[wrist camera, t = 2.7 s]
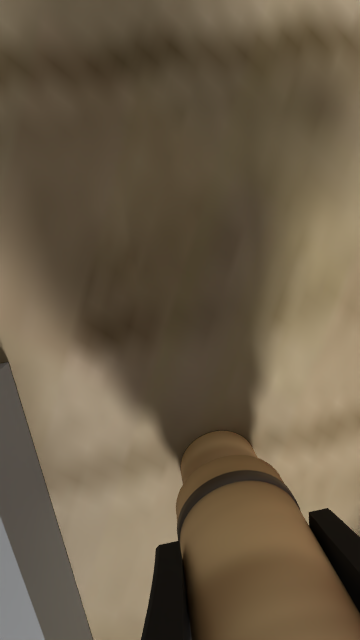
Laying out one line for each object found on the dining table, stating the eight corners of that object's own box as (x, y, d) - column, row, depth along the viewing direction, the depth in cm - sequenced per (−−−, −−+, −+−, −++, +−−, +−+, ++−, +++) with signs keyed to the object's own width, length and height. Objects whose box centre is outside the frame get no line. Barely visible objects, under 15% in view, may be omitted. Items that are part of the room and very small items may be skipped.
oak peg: (267, 493, 14) (480, 924, 5) (177, 512, 13) (239, 1006, 5) (261, 412, 13) (517, 782, 4) (163, 431, 12) (209, 877, 4)
